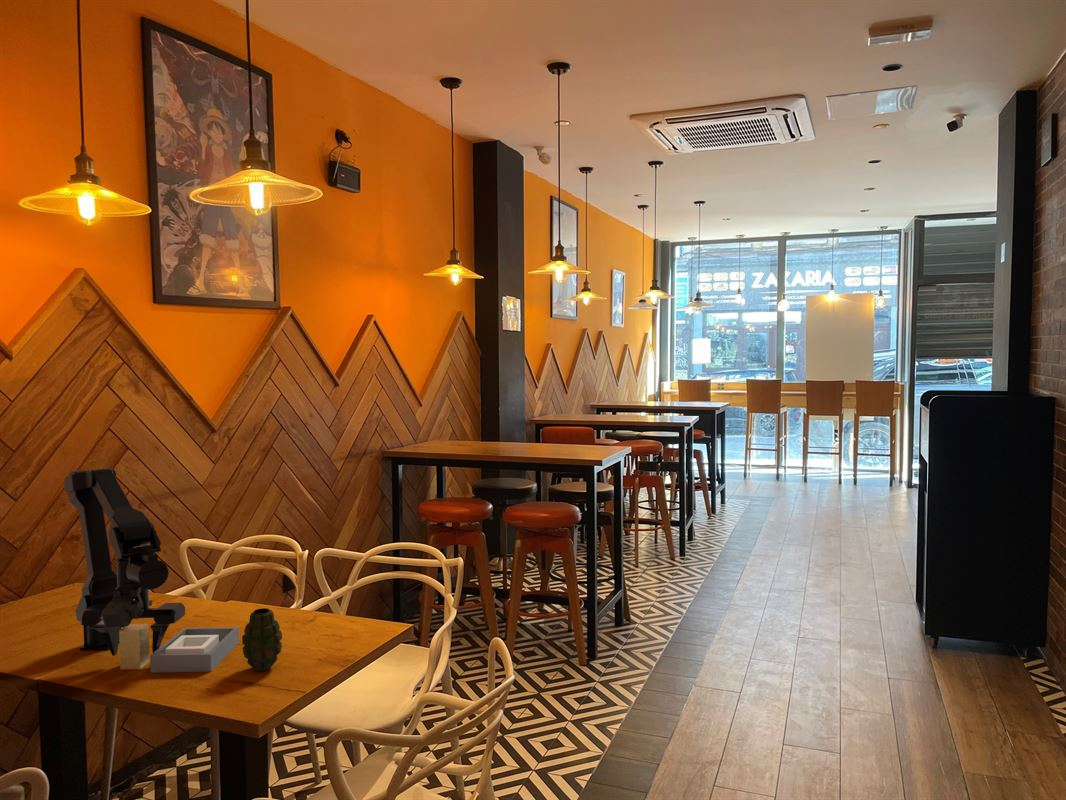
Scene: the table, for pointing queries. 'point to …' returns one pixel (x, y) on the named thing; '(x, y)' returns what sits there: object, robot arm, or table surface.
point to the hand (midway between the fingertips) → (134, 654)
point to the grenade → (262, 640)
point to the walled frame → (195, 650)
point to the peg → (134, 646)
